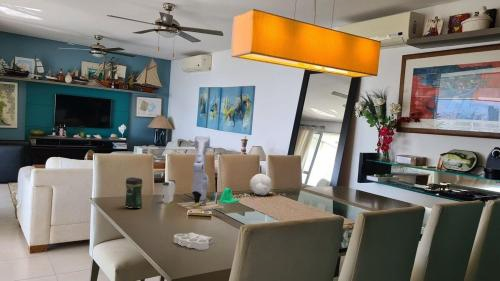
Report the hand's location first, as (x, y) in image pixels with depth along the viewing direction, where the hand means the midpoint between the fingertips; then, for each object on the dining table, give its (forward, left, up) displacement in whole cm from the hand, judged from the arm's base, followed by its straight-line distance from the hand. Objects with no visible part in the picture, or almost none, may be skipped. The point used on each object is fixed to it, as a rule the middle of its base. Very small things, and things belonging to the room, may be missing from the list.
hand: (197, 203), depth 240 cm
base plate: (-1, +3, -3) cm, 4 cm away
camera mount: (-3, +26, -4) cm, 26 cm away
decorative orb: (-19, +64, -3) cm, 67 cm away
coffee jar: (-17, -34, -3) cm, 38 cm away
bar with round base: (+1, +1, -2) cm, 2 cm away
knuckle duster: (+59, -32, -4) cm, 67 cm away
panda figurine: (-18, -11, -3) cm, 21 cm away
